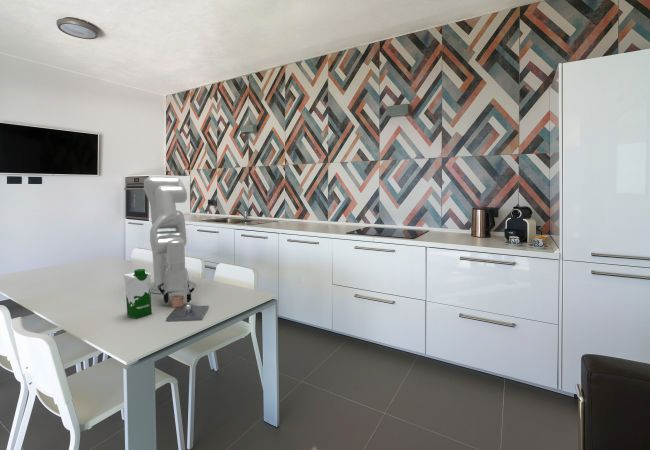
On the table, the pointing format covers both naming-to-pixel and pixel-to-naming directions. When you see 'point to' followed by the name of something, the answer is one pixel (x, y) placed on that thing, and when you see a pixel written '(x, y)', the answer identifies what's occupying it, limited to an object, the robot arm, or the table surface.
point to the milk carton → (138, 293)
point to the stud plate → (187, 313)
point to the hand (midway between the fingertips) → (177, 302)
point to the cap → (177, 300)
